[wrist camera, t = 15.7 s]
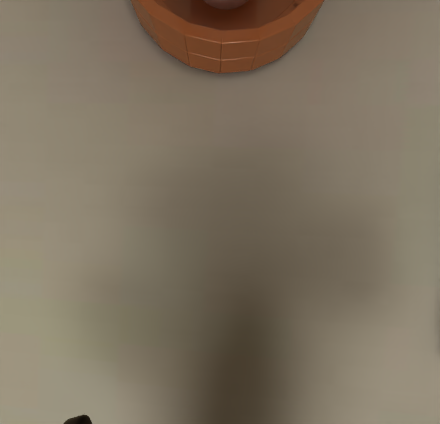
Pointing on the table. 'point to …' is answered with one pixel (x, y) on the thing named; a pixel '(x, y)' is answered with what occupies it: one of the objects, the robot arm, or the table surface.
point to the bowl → (226, 30)
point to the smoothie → (226, 3)
